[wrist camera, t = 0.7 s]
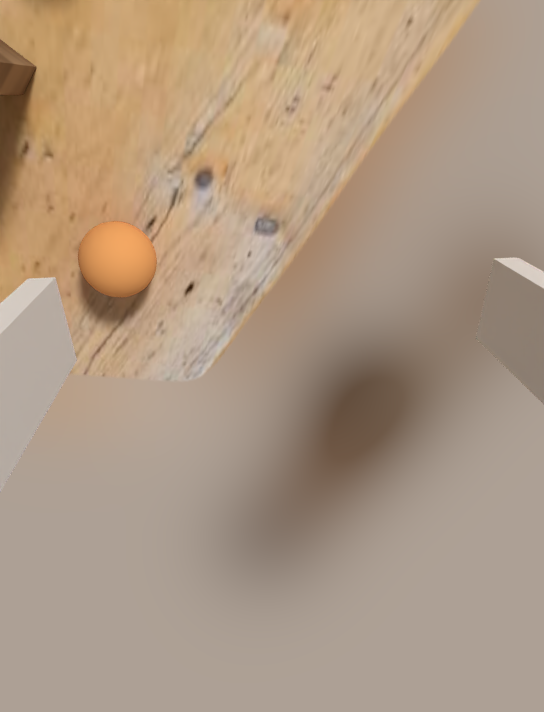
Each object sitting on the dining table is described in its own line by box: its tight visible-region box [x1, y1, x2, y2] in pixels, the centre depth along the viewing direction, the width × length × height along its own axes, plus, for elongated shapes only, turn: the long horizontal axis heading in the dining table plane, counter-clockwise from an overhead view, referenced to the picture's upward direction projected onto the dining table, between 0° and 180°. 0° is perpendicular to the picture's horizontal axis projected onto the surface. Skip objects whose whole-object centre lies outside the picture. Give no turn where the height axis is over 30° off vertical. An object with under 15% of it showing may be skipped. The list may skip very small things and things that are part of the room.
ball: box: [78, 221, 157, 297], centre depth 34 cm, size 6×6×6 cm
